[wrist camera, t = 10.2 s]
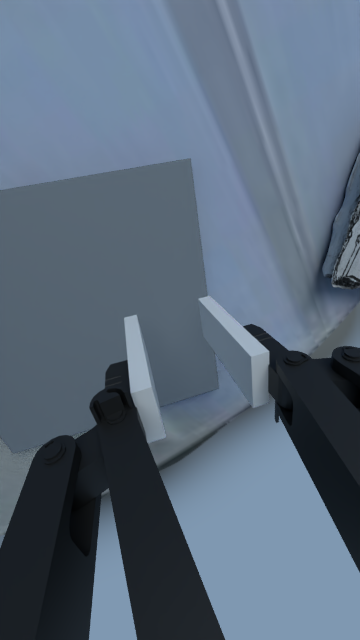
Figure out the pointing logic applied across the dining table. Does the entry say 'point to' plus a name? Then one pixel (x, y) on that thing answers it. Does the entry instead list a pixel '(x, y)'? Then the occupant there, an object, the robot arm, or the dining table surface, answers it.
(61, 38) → the dining table surface
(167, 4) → the dining table surface
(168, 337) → the mat
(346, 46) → the dining table surface
